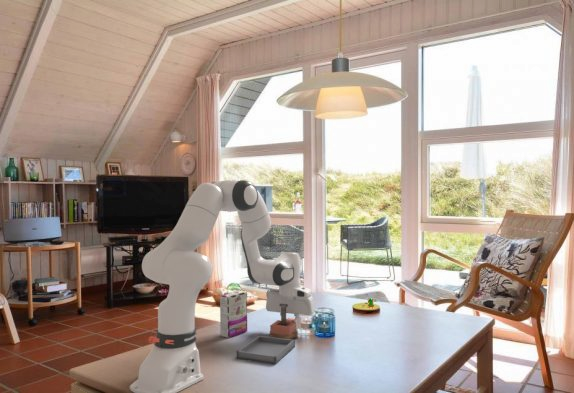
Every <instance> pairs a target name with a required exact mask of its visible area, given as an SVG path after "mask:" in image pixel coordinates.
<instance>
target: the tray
mask: <svg viewBox="0 0 574 393" xmlns="http://www.w3.org/2000/svg"><path fill="white" fill-rule="evenodd" d="M294 348H296V339H294V340H290V339H282V338H274V337H270V336H266V335H265V336H264V335H258V336H256V337H255V338H253V339H252V340H251V341H249V342H248V343H246V344H245V345H243V346H241V348H239V349H238V350H236V351H235V352H236V356H235V357H236V359H237V360H242V359H243V360H242V361H249V360H250V361H251V362H256V361H257V362H258V363H264V364H271V365H277V364H278V363H279V362H281V360H283V358H284V357H286V356H287V355H288V354H289V353H291V351H292V350H293V349H294Z"/></svg>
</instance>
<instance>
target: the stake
mask: <svg viewBox="0 0 574 393" xmlns="http://www.w3.org/2000/svg"><path fill="white" fill-rule="evenodd" d="M279 306H281V315H280V320H281V325H282V326H286V319H287V313H286V307H288V304H279ZM269 337H274V338H282V339H290V340H297V339H298V330H297V329H296V330H295V331H294V332H293V333H292V334H291V335H282V334H274V333H270V332H269Z"/></svg>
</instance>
